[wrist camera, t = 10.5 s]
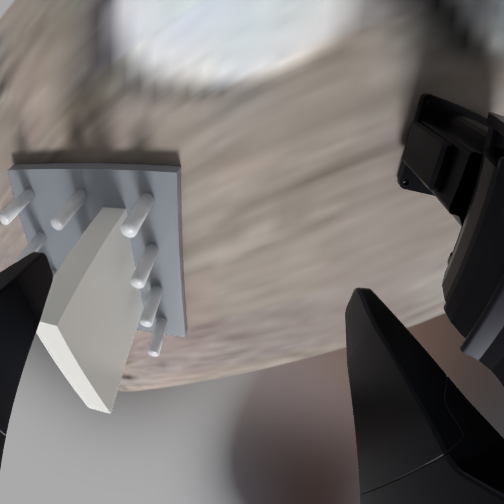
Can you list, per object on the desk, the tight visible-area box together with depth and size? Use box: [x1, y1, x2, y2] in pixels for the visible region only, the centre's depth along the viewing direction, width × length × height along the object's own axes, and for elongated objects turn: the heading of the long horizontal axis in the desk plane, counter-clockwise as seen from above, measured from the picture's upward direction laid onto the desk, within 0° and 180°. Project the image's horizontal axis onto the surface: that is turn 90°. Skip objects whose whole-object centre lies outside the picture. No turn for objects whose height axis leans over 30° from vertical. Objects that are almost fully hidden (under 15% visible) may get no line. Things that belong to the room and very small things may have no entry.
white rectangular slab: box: [36, 207, 143, 414], centre depth 19 cm, size 2×10×10 cm, turn 174°
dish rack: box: [0, 163, 187, 357], centre depth 22 cm, size 14×16×4 cm
